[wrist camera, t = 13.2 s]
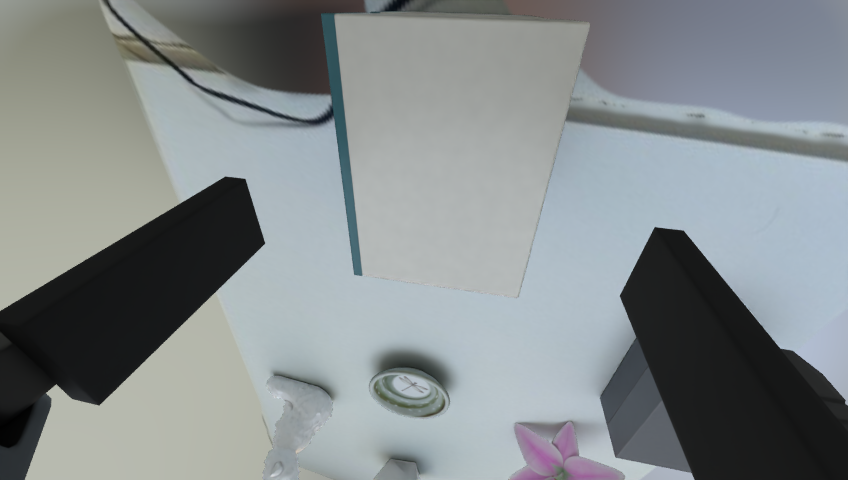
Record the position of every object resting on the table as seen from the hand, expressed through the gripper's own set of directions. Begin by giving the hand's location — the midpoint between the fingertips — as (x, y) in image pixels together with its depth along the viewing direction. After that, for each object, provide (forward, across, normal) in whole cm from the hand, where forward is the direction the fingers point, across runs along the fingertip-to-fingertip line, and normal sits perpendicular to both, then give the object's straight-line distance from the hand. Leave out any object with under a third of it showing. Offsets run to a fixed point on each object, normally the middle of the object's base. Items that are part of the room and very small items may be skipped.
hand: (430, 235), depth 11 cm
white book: (+7, 0, 0) cm, 7 cm away
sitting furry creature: (+14, -18, -39) cm, 46 cm away
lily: (+14, +15, -38) cm, 43 cm away
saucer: (+14, -4, -31) cm, 34 cm away
